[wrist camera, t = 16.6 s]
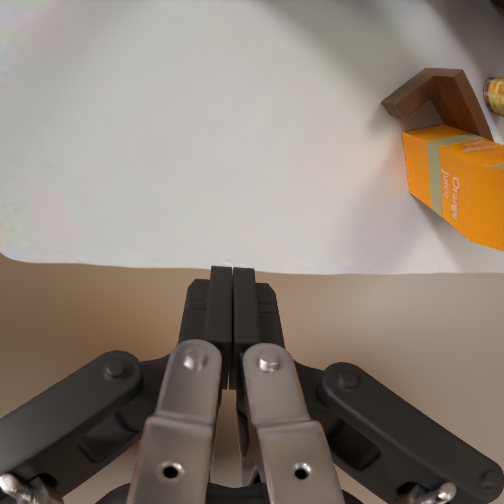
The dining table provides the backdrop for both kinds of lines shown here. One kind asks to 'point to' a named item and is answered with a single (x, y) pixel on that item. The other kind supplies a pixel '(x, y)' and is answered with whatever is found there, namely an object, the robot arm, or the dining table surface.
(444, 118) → the wooden stand
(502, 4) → the pitcher
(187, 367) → the robot arm
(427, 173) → the orange juice
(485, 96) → the sauce bottle
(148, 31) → the dining table surface
